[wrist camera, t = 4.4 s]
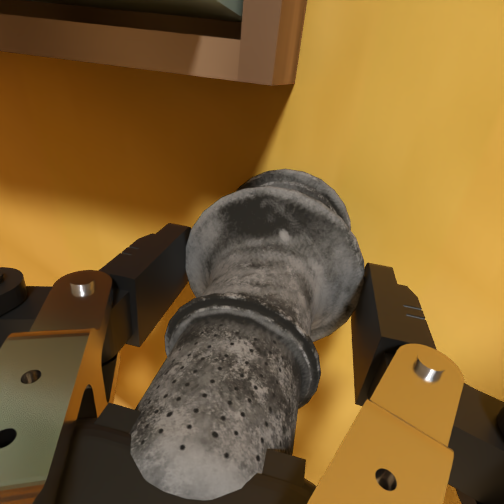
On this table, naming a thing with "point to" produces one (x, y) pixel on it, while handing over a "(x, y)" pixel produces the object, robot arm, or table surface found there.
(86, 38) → the box
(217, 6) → the green crate
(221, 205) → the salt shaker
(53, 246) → the table surface
